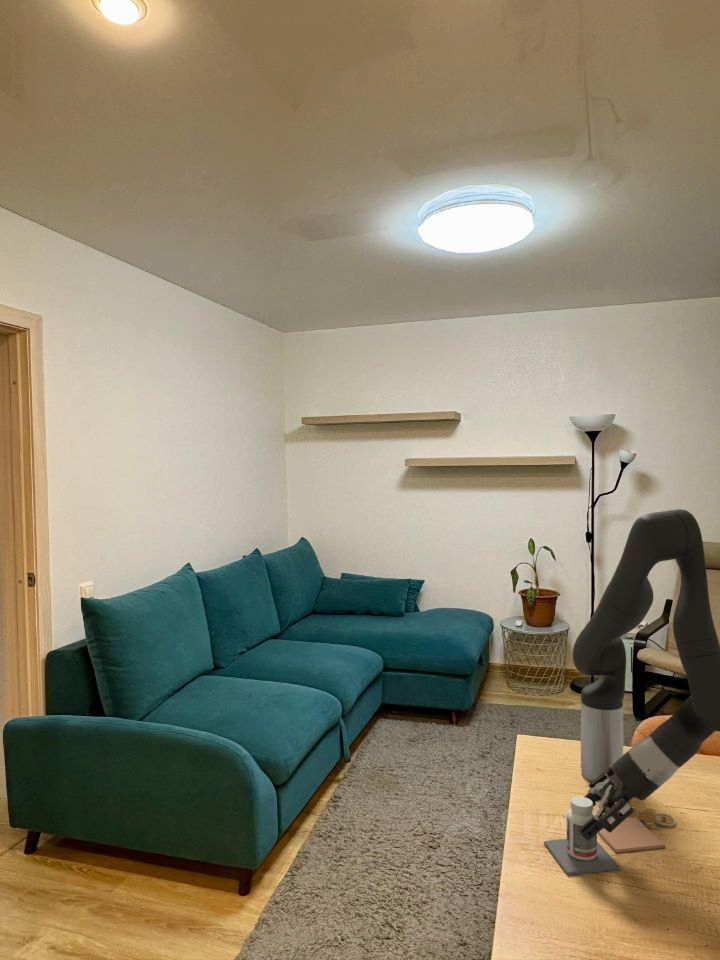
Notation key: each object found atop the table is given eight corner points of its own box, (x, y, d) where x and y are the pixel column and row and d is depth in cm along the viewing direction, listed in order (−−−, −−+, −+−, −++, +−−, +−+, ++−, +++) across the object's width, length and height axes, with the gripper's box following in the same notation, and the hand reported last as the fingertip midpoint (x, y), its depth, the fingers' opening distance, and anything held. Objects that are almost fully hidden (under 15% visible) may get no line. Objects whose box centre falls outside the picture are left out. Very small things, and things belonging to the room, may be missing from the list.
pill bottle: (603, 855, 124) (603, 803, 124) (584, 865, 121) (584, 812, 121) (578, 841, 128) (578, 791, 128) (560, 851, 125) (560, 799, 125)
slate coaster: (544, 844, 129) (544, 841, 129) (592, 839, 130) (592, 836, 130) (567, 875, 119) (567, 872, 119) (619, 869, 120) (619, 866, 120)
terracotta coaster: (589, 824, 136) (589, 821, 136) (635, 819, 137) (635, 817, 137) (615, 852, 126) (615, 849, 126) (664, 847, 127) (664, 844, 127)
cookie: (624, 801, 143) (675, 810, 139) (624, 806, 143) (675, 815, 139) (622, 820, 136) (677, 830, 132) (622, 825, 136) (677, 835, 132)
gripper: (623, 735, 129) (561, 789, 132) (638, 768, 115) (569, 827, 118) (652, 765, 128) (590, 818, 131) (671, 801, 114) (601, 860, 117)
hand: (580, 822), depth 124 cm, fingers open, 8 cm apart
